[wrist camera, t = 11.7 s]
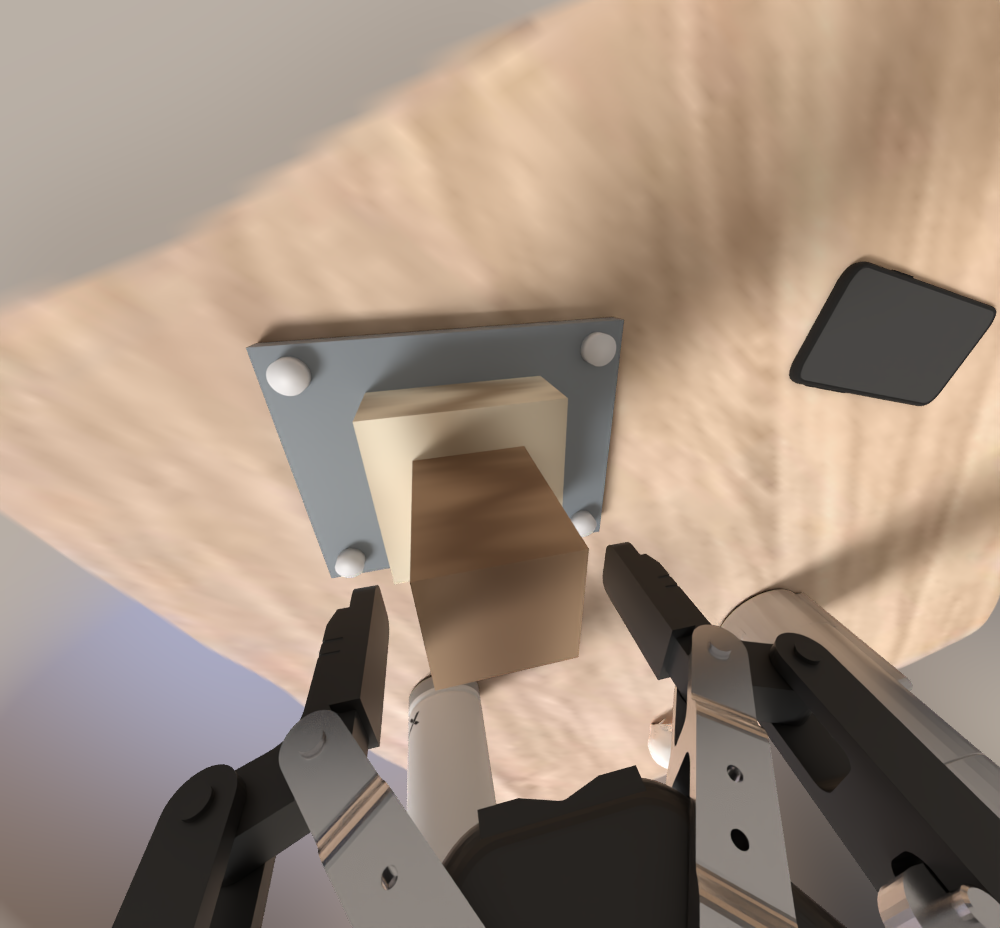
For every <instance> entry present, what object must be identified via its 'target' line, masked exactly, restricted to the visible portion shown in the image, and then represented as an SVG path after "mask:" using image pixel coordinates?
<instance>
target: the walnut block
mask: <svg viewBox="0 0 1000 928" xmlns="http://www.w3.org/2000/svg"><path fill="white" fill-rule="evenodd" d="M588 553H589V548H588V547H587V545H586V544H585V542H584V540H583V539H582V537H581V536H580V534H579V532H578V531H577V529H576V528H575V526H574V524H573V523H572V521H571V520H570V518H569V516H568V515H567V513H566V512H565V510H564V509H563V507H562V505H561V504H560V502H559V501H558V499H557V497H556V496H555V494H554V493H553V491H552V489H551V488H550V486H549V485H548V483H547V481H546V480H545V478H544V477H543V475H542V473H541V472H540V470H539V469H538V467H537V466H536V464H535V462H534V461H533V459H532V458H531V456H530V454H529V453H528V451H527V450H526V448H525V446H520V447H513V448H505V449H498V450H490V451H483V452H475V453H468V454H460V455H453V456H445V457H438V458H430V459H423V460H415V461H412V503H411V550H410V585H411V589H412V594H413V598H414V602H415V607H416V611H417V615H418V619H419V624H420V628H421V632H422V637H423V641H424V645H425V649H426V654H427V658H428V662H429V667H430V671H431V675H432V679H433V684H434V688H435V691H437V690H441V689H445V688H450V687H454V686H458V685H462V684H466V683H471V682H475V681H479V680H483V679H488V678H492V677H496V676H500V675H505V674H509V673H513V672H517V671H522V670H526V669H530V668H534V667H539V666H543V665H547V664H551V663H555V662H560V661H564V660H568V659H572V658H577V657H578V655H579V644H580V634H581V624H582V614H583V604H584V593H585V583H586V573H587V563H588Z"/></svg>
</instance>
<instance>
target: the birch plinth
mask: <svg viewBox="0 0 1000 928" xmlns="http://www.w3.org/2000/svg"><path fill="white" fill-rule="evenodd" d="M567 409H568V398H567V397H566V396H565V395H563V394H562V393H561V392H560V391H559V390H557V389H556V388H555V387H554V386H552V385H551V384H550V383H549V382H548V381H546V380H545V379H544V378H543V377H541V376H532V377H521V378H511V379H501V380H491V381H480V382H470V383H460V384H450V385H439V386H429V387H419V388H409V389H398V390H388V391H378V392H368V393H365V394H364V397H363V399H362V401H361V403H360V406H359V408H358V410H357V413H356V415H355V417H354V420H353V426H354V430H355V433H356V437H357V441H358V445H359V449H360V453H361V457H362V461H363V464H364V468H365V472H366V476H367V480H368V484H369V488H370V492H371V496H372V499H373V503H374V507H375V511H376V515H377V519H378V523H379V527H380V530H381V534H382V538H383V542H384V546H385V550H386V554H387V558H388V562H389V565H390V569H391V573H392V577H393V581H394V584H399V583H405V582H410V550H411V503H412V461H415V460H423V459H430V458H438V457H445V456H453V455H460V454H468V453H475V452H483V451H490V450H498V449H505V448H513V447H520V446H525V448H526V450H527V451H528V453H529V454H530V456H531V458H532V459H533V461H534V462H535V464H536V466H537V467H538V469H539V470H540V472H541V473H542V475H543V477H544V478H545V480H546V481H547V483H548V485H549V486H550V488H551V489H552V491H553V493H554V494H555V496H556V497H557V499H558V501H559V502H560V504H561V505H563V486H564V466H565V447H566V428H567Z"/></svg>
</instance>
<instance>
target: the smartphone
mask: <svg viewBox="0 0 1000 928" xmlns="http://www.w3.org/2000/svg"><path fill="white" fill-rule="evenodd" d="M995 316H996V309H995V308H994V307H992V306H990V305H987V304H984V303H981V302H979V301H976V300H973V299H970V298H967V297H965V296H962V295H959V294H956V293H953V292H951V291H948V290H945V289H942V288H939V287H937V286H934V285H931V284H928V283H926V282H923V281H920V280H917V279H914V278H913V276H910V275H907V274H904V273H902V272H899V271H896V270H889V269H886V268H883V267H881V266H878V265H875V264H872V263H869V262H858V263H855V264H853V265H851V266H850V267H848V268H847V269H846V270H845V271H844V272H843V274H842V275H841V276H840V278H839V279H838V281H837V282H836V284H835V286H834V288H833V290H832V292H831V293H830V295H829V297H828V299H827V301H826V303H825V304H824V306H823V308H822V310H821V312H820V314H819V315H818V317H817V319H816V321H815V323H814V325H813V326H812V328H811V330H810V332H809V334H808V335H807V337H806V339H805V341H804V343H803V345H802V346H801V348H800V350H799V352H798V354H797V355H796V357H795V359H794V361H793V363H792V365H791V368H790V373H789V376H790V379H791V380H792V381H793V382H795V383H798V384H803V385H805V386H809V387H815V388H819V389H825V390H831V391H835V392H841V393H845V392H846V393H851V394H856V395H862V396H867V397H873V398H878V399H883V400H889V401H894V402H899V403H905V404H910V405H916V406H924V405H927V404H929V403H930V402H931V401H933V400H934V399H935V398H936V397H937V396H938V395H939V393H940V392H941V391H942V390H943V388H944V387H945V386H946V384H947V383H948V382H949V380H950V379H951V378H952V376H953V375H954V374H955V372H956V371H957V370H958V368H959V367H960V366H961V364H962V363H963V362H964V360H965V359H966V358H967V356H968V355H969V354H970V352H971V351H972V350H973V348H974V347H975V346H976V344H977V343H978V342H979V340H980V339H981V338H982V336H983V335H984V334H985V332H986V331H987V330H988V328H989V327H990V325H991V324H992V322H993V320H994V318H995Z"/></svg>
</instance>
